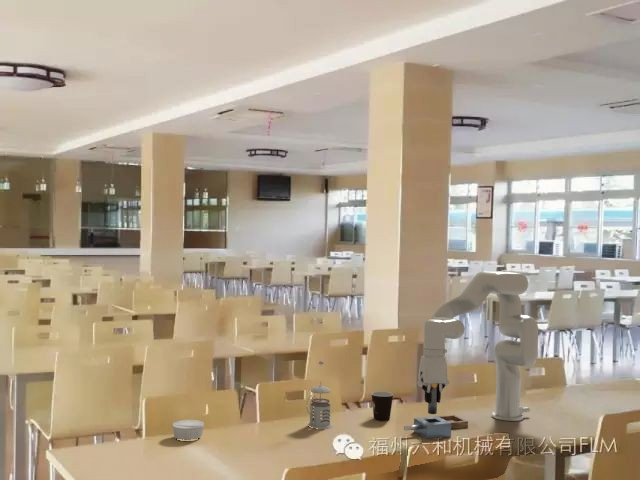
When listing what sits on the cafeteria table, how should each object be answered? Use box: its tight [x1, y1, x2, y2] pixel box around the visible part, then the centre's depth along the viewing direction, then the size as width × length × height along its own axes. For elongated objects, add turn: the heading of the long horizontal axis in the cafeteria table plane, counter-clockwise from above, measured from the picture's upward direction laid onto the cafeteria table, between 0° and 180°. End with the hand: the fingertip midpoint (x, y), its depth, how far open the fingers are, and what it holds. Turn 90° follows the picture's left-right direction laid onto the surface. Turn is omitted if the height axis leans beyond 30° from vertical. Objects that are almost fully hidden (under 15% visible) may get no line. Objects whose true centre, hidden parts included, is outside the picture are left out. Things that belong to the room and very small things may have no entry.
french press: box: [306, 360, 333, 430], centre depth 271 cm, size 10×12×25 cm
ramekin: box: [171, 419, 205, 440], centre depth 253 cm, size 11×11×5 cm
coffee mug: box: [371, 391, 394, 422], centre depth 285 cm, size 12×9×10 cm
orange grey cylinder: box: [427, 384, 438, 415], centre depth 264 cm, size 3×3×12 cm
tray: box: [438, 414, 469, 430], centre depth 277 cm, size 12×10×2 cm
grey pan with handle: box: [403, 415, 452, 440], centre depth 263 cm, size 16×10×5 cm, turn 111°
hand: (432, 401), depth 264 cm, fingers closed on orange grey cylinder, 3 cm apart
